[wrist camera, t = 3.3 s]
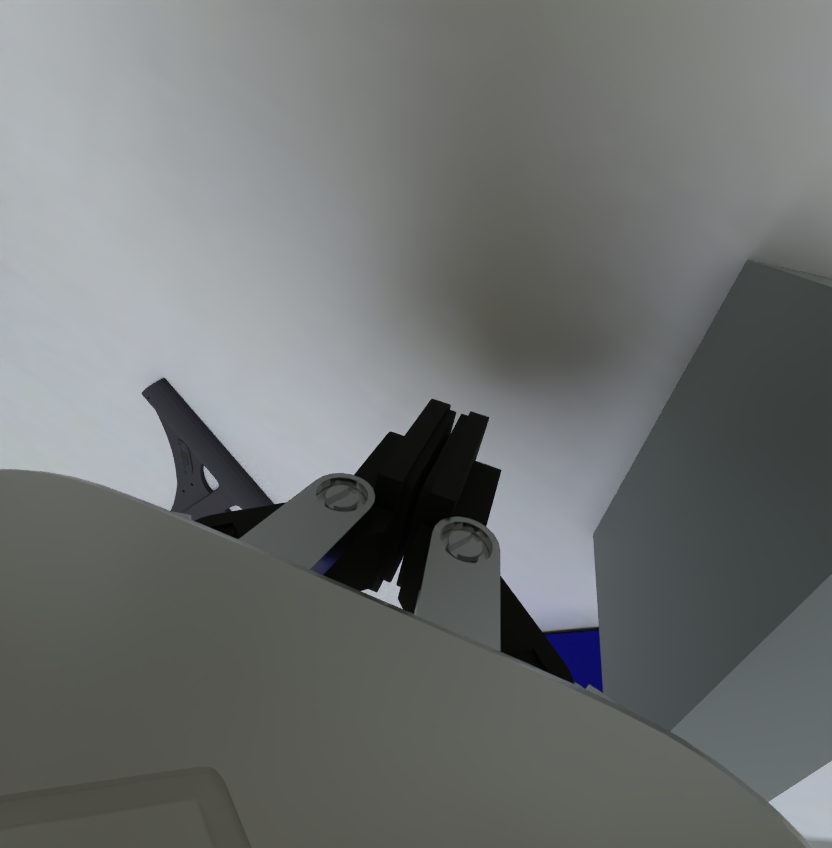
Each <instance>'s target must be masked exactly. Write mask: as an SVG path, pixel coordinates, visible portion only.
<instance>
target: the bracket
mask: <svg viewBox="0 0 832 848" xmlns="http://www.w3.org/2000/svg"><path fill="white" fill-rule="evenodd" d="M142 395H143V396H144V397H145V398H146V400H147V401H148V402H149V403H150V404H151V405H152V406H153V408H154V409H155V410H156V412H157V414H158V416H159V418H160V420H161V423H162V425H163V427H164V430H165V432H166V435H167V437H168V440H169V443H170V446H171V449H172V453H173V457H174V462H175V467H176V475H177V491H176V497H175V501H174V504H173V507H172V509H171V511H173V512H178V513H183V514H188V515H191V520H193V521H195V520H197V519H199V518H201V517H205V516H209V515H213V514H219V513H225V512H231V510H230V509H229V508H230V507H232V506H235V505H236V506H239V507H240V508H242V509H249V508H255V507H262V506H268V505H274V504H273V503H272V502H271V500H270V499H269V498H268V497H267V496H266V495H265V493H264V492H263V491H262V490H261V489H260V488H259V487H258V485H257V484H256V483H255V482H254V481H253V480H252V478H251V477H250V476H249V475H248V474H247V473H246V471H245V470H244V469H243V468H242V467H241V466H240V465H239V463H238V462H237V461H236V460H235V459H234V458H233V456H232V455H231V454H230V453H229V452H228V451H227V450H226V448H225V447H224V446H223V445H222V444H221V443H220V441H219V440H218V439H217V438H216V437H215V436H214V434H213V433H212V432H211V431H210V430H209V429H208V428H207V426H206V425H205V424H204V423H203V422H202V421H201V419H200V418H199V417H198V416H197V415H196V414H195V413H194V411H193V410H192V409H191V408H190V407H189V406H188V404H187V403H186V402H185V401H184V400H183V399H182V397H181V396H180V395H179V394H178V393H177V392H176V391H175V389H174V388H173V387H172V386H171V385H170V384H169V382H168V381H167V380H166V379H165V378H163V379H161V380H159V381H157V382H155V383H153V384H152V385H150V386H149V387H147V388H146V389H145V390H144V391H143V392H142ZM203 466H205V467H206V468H207V469H208V470H209V471H210V473H211V474H212V475H213V476H214V477H215V479H216V480H217V481H218V483H219V487H218V488H217V489H216V490H215V491H213V490H212V489H211V488H210V487H209V485H208V483H207V481H206V479H205V477H204V472H203Z"/></svg>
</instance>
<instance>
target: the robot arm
mask: <svg viewBox="0 0 832 848" xmlns="http://www.w3.org/2000/svg"><path fill="white" fill-rule="evenodd" d="M450 407H451V405H450V404H447V403H444V402H441V401H437V400H434V399H431V400H430V402H429V403H428V404H427V406H426V407H425V409H424V410H423V411H422V413H421V414H420V415H419V417H418V418H417V419H416V421H415V422H414V424H413V425H412V426H411V428H410V429H409V430H408V432H407V433H406V435H405V436H403V435H400V434H397V433H394V432H389V433H388V434H387V435H386V436H385V438H384V439H383V440H382V441H381V442H380V444H379V445H378V446H377V447H376V449H375V450H374V451H373V452H372V454H371V455H370V456H369V457H368V458H367V460H366V461H365V462H364V463H363V465H362V466H361V467H360V468H359V470H358V471H357V472H356V473H355V474H354V475H351V474H345V473H333V474H329V475H325V476H322V477H321V478H319V479H317V480H315V481H314V482H313V483H311V484H310V485H309V486H308V487H306V488H305V489H304V490H302V491H301V492H300V493H298V494H297V495H296V496H294V497H293V498H292V499H291V500H289V501H288V502H286V503H280V504H274V505H268V506H262V507H255V508H249V509H243V510H237V511H231V512H225V513H219V514H213V515H209V516H205V517H201V518H199V519H197V520H195V521H193V520H191V515H188V514H183V513H178V512H173V511H169V510H166V509H164V508H161V507H159V506H156V505H154V504H151V503H149V502H146V501H144V500H141V499H138V498H136V497H133V496H130V495H128V494H125V493H122V492H120V491H117V490H114V489H111V488H109V487H106V486H103V485H100V484H97V483H93V482H90V481H86V480H83V479H79V478H76V477H71V476H66V475H61V474H55V473H50V472H42V471H30V470H18V469H0V848H812V847H811V846H810V844H809V843H808V842H807V841H806V839H805V838H804V837H803V836H802V835H801V834H800V833H799V832H798V831H797V830H796V829H795V828H794V827H793V826H792V825H791V824H790V823H789V822H788V821H787V820H786V819H785V818H784V817H783V816H782V815H781V814H780V813H779V812H778V811H777V810H776V809H775V808H774V807H773V806H771V805H770V804H769V803H768V802H767V801H766V800H765V799H764V798H763V797H762V796H760V795H759V794H758V793H757V792H755V791H754V790H753V789H752V788H750V787H749V786H748V785H747V784H745V783H744V782H743V781H741V780H740V779H739V778H738V777H736V776H735V775H734V774H733V773H731V772H730V771H729V770H728V769H726V768H725V767H724V766H723V765H721V764H720V763H718V762H717V761H715V760H714V759H712V758H711V757H709V756H708V755H706V754H705V753H703V752H702V751H700V750H699V749H697V748H696V747H694V746H693V745H691V744H690V743H688V742H687V741H685V740H684V739H682V738H680V737H679V736H677V735H675V734H673V733H672V732H670V731H668V730H666V729H664V728H663V727H661V726H659V725H657V724H656V723H654V722H652V721H650V720H649V719H647V718H645V717H642V716H640V715H638V714H636V713H634V712H632V711H630V710H628V709H626V708H625V707H623V706H622V705H620V704H619V703H617V702H616V701H614V700H613V699H611V698H610V697H608V696H607V695H605V694H603V693H602V692H600V691H599V690H597V689H596V688H594V687H593V686H591V685H590V684H589V685H588V687H587V688H586V689H585V688H583V687H581V686H580V685H578V684H577V683H575V682H574V680H573V677H572V674H571V673H570V671H569V669H568V667H567V666H566V664H565V662H564V661H563V660H562V658H561V657H560V656H559V654H558V653H557V651H556V650H555V649H554V647H553V646H552V645H551V643H550V642H549V641H548V639H547V638H546V637H545V635H544V634H543V633H542V631H541V630H540V628H539V627H538V626H537V624H536V623H535V622H534V620H533V619H532V618H531V616H530V615H529V614H528V612H527V611H526V610H525V608H524V607H523V606H522V604H521V603H520V601H519V600H518V599H517V597H516V596H515V595H514V593H513V592H512V591H511V589H510V588H509V587H508V585H507V584H506V583H505V581H504V580H503V578H502V577H501V576H500V547H499V542H498V540H497V539H496V537H495V535H494V534H493V533H492V532H491V531H490V530H489V529H488V528H487V527H486V525H487V522H488V518H489V514H490V510H491V507H492V503H493V499H494V496H495V492H496V488H497V485H498V481H499V477H500V473H501V470H500V469H497V468H494V467H492V466H489V465H486V464H483V463H480V462H477V461H475V460H476V457H477V454H478V451H479V448H480V445H481V442H482V439H483V436H484V433H485V430H486V427H487V423H488V420H489V417H486V416H483V415H480V414H477V413H474V412H471V411H470V413H469V415H468V416H467V415H464V414H461V416H460V418H459V419H458V421H457V423H456V425H455V427H454V429H453V431H452V432H451V430H452V426H453V423H454V419H455V415H456V412H455V411H452V410H450ZM403 556H404V557H403ZM402 558H403V561H402V565H401V569H400V573H399V577H398V581H397V586H399V587H401V588H400V592H399V596H398V600H399V602H400V604H401V606H402V608H403V609H401V608H398V607H396V606H394V605H391V604H389V603H387V602H384V601H382V600H380V599H377V598H375V597H373V596H370V595H368V594H366V593H363V592H361V591H362V590H366V589H370V590H372V591H375V592H378V590H379V588H380V586H381V584H382V582H383V580H385V581H387V582H391V581H392V579H393V577H394V575H395V573H396V571H397V569H398V567H399V565H400V562H401V560H402Z"/></svg>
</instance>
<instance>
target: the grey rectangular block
mask: <svg viewBox="0 0 832 848" xmlns="http://www.w3.org/2000/svg"><path fill="white" fill-rule="evenodd" d="M593 540H594V556H595V571H596V587H597V603H598V619H599V635H600V650H601V666H602V682H603V694H605V695H607V696H608V697H610V698H611V699H613V700H614V701H616V702H617V703H619V704H620V705H622V706H623V707H625V708H626V709H628V710H630V711H632V712H634V713H636V714H638V715H640V716H642V717H645V718H647V719H649V720H650V721H652V722H654V723H656V724H657V725H659V726H661V727H663V728H664V729H666V730H668V731H670V732H672V733H673V734H675V735H677V736H679V737H680V738H682V739H684V740H685V741H687V742H688V743H690V744H691V745H693V746H694V747H696V748H697V749H699V750H700V751H702V752H703V753H705V754H706V755H708V756H709V757H711V758H712V759H714V760H715V761H717V762H718V763H720V764H721V765H723V766H724V767H725V768H726V769H728V770H729V771H730V772H731V773H733V774H734V775H735V776H736V777H738V778H739V779H740V780H741V781H743V782H744V783H745V784H747V785H748V786H749V787H750V788H752V789H753V790H754V791H755V792H757V793H758V794H759V795H760V796H762V797H763V798H764V799H765V800H766V801H767V802H769V801H770V800H772V799H773V798H775V797H776V796H778V795H779V794H781V793H783V792H784V791H786V790H787V789H789V788H790V787H792V786H793V785H795V784H796V783H798V782H799V781H801V780H803V779H804V778H806V777H807V776H809V775H810V774H812V773H813V772H815V771H816V770H818V769H819V768H821V767H823V766H824V765H826V764H827V763H829V762H830V761H832V279H830V278H826V277H822V276H817V275H813V274H809V273H804V272H800V271H796V270H791V269H787V268H783V267H778V266H774V265H770V264H765V263H761V262H757V261H752V260H748V259H747V261H746V263H745V265H744V267H743V268H742V270H741V272H740V274H739V275H738V277H737V279H736V281H735V283H734V284H733V286H732V288H731V290H730V291H729V293H728V295H727V297H726V299H725V300H724V302H723V304H722V306H721V308H720V309H719V311H718V313H717V315H716V316H715V318H714V320H713V322H712V324H711V325H710V327H709V329H708V331H707V332H706V334H705V336H704V338H703V340H702V341H701V343H700V345H699V347H698V349H697V350H696V352H695V354H694V356H693V357H692V359H691V361H690V363H689V365H688V366H687V368H686V370H685V372H684V373H683V375H682V377H681V379H680V381H679V382H678V384H677V386H676V388H675V390H674V391H673V393H672V395H671V397H670V398H669V400H668V402H667V404H666V406H665V407H664V409H663V411H662V413H661V414H660V416H659V418H658V420H657V422H656V423H655V425H654V427H653V429H652V431H651V432H650V434H649V436H648V438H647V439H646V441H645V443H644V445H643V447H642V448H641V450H640V452H639V454H638V455H637V457H636V459H635V461H634V463H633V464H632V466H631V468H630V470H629V472H628V473H627V475H626V477H625V479H624V480H623V482H622V484H621V486H620V488H619V489H618V491H617V493H616V495H615V496H614V498H613V500H612V502H611V504H610V505H609V507H608V509H607V511H606V513H605V514H604V516H603V518H602V520H601V521H600V523H599V525H598V527H597V529H596V530H595V532H594V534H593Z"/></svg>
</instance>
